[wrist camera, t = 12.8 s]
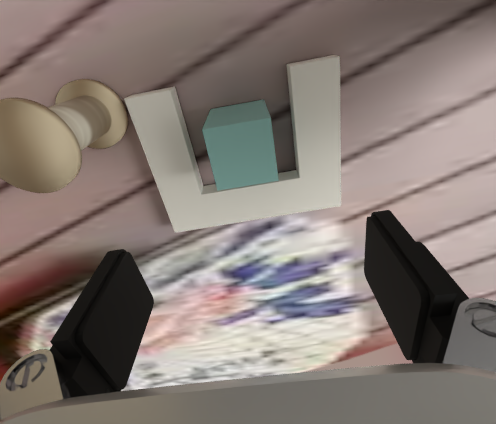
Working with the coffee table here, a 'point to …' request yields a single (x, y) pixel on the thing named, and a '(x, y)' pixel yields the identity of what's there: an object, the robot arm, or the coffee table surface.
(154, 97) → the notched board
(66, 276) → the coffee table surface
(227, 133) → the block
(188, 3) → the coffee table surface
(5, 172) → the bobbin
